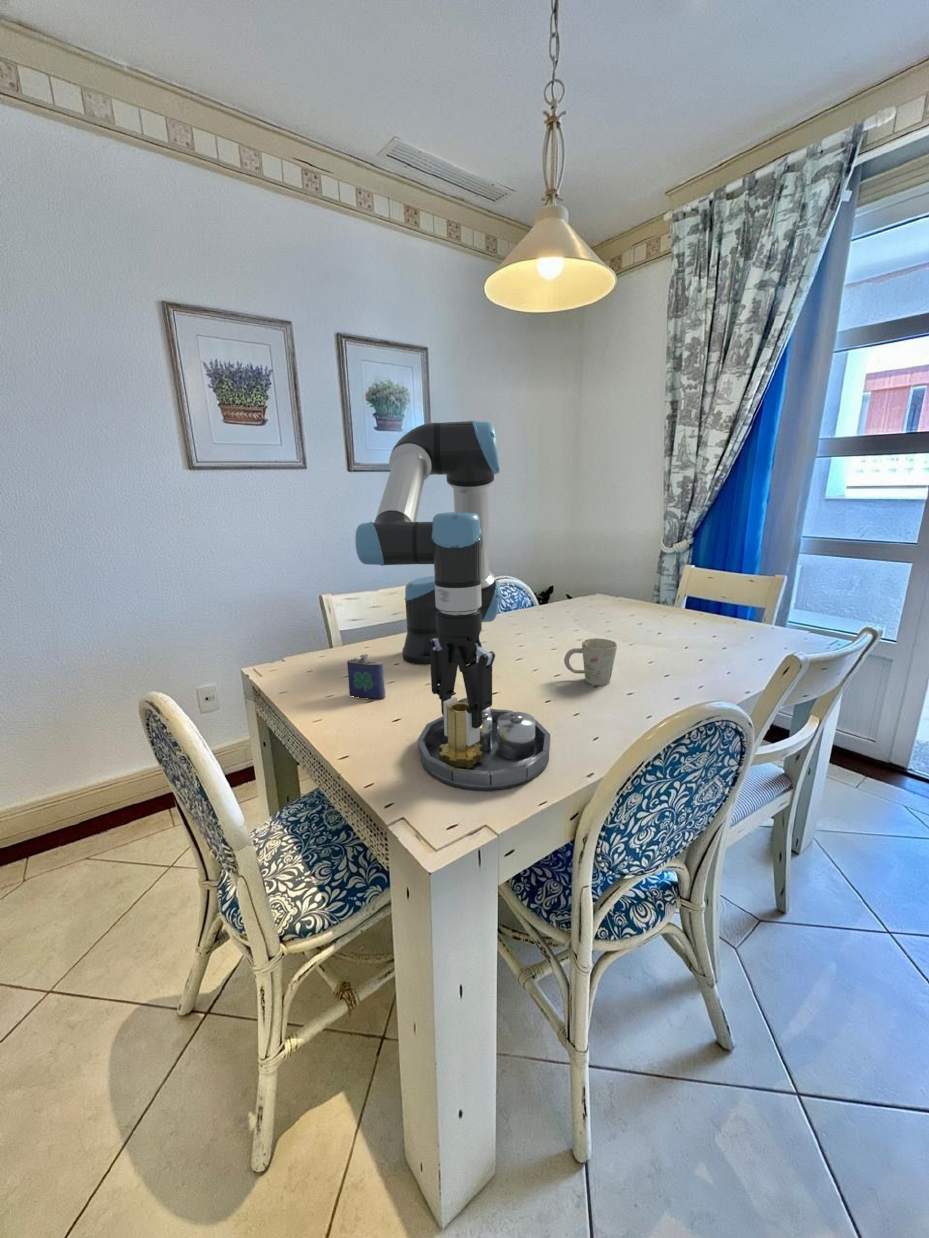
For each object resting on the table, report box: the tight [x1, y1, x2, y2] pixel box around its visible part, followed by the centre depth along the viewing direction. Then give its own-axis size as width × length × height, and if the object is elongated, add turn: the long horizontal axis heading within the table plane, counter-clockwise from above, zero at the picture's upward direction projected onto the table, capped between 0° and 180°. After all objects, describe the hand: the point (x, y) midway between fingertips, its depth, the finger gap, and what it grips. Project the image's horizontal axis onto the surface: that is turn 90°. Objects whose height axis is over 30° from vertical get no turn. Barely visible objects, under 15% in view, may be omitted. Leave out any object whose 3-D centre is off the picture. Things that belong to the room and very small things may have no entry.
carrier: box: [416, 697, 551, 792], centre depth 91 cm, size 24×24×8 cm
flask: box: [346, 653, 386, 700], centre depth 117 cm, size 9×3×11 cm, turn 74°
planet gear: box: [439, 701, 483, 768], centre depth 86 cm, size 8×8×10 cm
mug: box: [563, 637, 618, 686], centre depth 123 cm, size 8×13×10 cm, turn 78°
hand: (461, 737), depth 86 cm, fingers open, 4 cm apart
